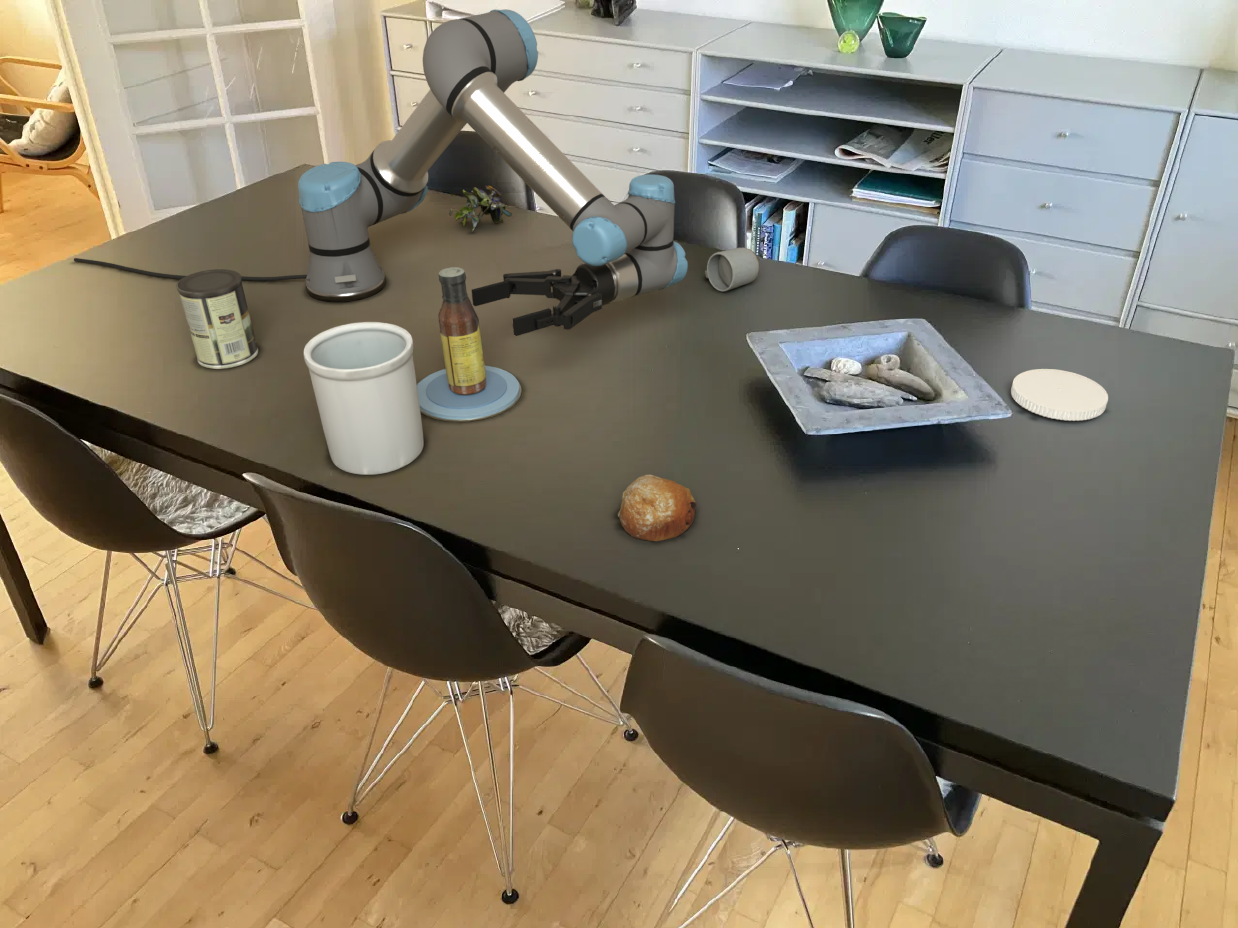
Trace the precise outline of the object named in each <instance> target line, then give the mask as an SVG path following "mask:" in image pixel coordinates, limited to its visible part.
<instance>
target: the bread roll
mask: <svg viewBox="0 0 1238 928" xmlns="http://www.w3.org/2000/svg"><path fill="white" fill-rule="evenodd" d="M696 507H697V502H696V501H695V498H694V496H693V495H692V492H691V490H690V488H687V487H685V486H684V485H682V484H679V483H677V482H676V481H674V480H672V479H668V478H667V479H666V478H663V477H660V476H657V475H654V474H651V473H649V474H644V475H641V476H639V477H638V478H636V479H635V480H634V481H632V482H631V483H630V484H629V485H628V486H627V487H626V489H625V490H624V491H623V492H622V497H621V504H620V509H619V511H618V512H617V517H618V518H619V521H620V524H621V526H622V528H623V529H624V531H625V532H626V533H627V534H628V535H630V536H631V537H633V538H635V539H638V540H643V541H648V542H659V541H664V540H670V539H672V538H676V537H678V536H680V535H682V534H683V533H685V532H686V531H687V530H688V529H689V528H690V527H691V525H692V524H693V522H694V520H695V515H696V514H695V513H696V511H695V509H696Z"/></svg>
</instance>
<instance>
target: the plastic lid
mask: <svg viewBox="0 0 1238 928" xmlns="http://www.w3.org/2000/svg"><path fill="white" fill-rule="evenodd" d="M1010 394H1011V397H1012V398H1013V400H1014V401H1015V403H1017V404H1018V405H1019V406H1021V408H1024V409H1025V410H1027V411H1029V412H1031V413H1034V414H1036V415H1039V416H1042V417H1044V418H1045V417H1046V418H1048V419H1055V420H1060V421H1069V422H1071V421H1073V422H1076V421H1077V422H1079V421H1087V420H1091V419H1094V418H1095V419H1096V418H1097V417H1099V416H1101V415H1102V414H1103V413H1104V412H1105V411H1106V408H1107V405H1108V402H1109V394H1108V392H1107V391H1106V389H1105V388H1104V387H1103V386H1102V385H1101V384H1099V383H1098V382H1096V381H1095V380H1093V379H1092V378H1089V377H1086V376H1084V375H1082V374H1078V373H1075V372H1071V371H1067V370H1062V369H1057V368H1056V369H1054V368H1051V369H1050V368H1040V369H1039V368H1036V369H1029V370H1026V371H1023V372H1021V373H1018V374H1017V375H1016V376H1015V377H1014V378H1013V380H1012V383H1011V389H1010Z"/></svg>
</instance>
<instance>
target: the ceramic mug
mask: <svg viewBox="0 0 1238 928" xmlns="http://www.w3.org/2000/svg"><path fill="white" fill-rule="evenodd" d="M759 272H760V261H759V258H758V256H757V255H756V253H755V251H753V250H752V249H751V248H748V247H736V248H731V249H727V250H726V249H725V250H722V251H717V252H714V253H713V254H712V255H710V257H709V258H708V260H707V265H706V269H705V270H704V274H705V278H706V279H708V281H709V283H710V284H711V286H712V287H713V288H714V289H715V290H717V291H719V292H723V293H724V292H728V291H731V290H734V289H737V288H739V287H741V286H745V285H748V284H750V283H752V282H753V281H754V280H756V278H757V277H758V275H759Z"/></svg>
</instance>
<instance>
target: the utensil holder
mask: <svg viewBox="0 0 1238 928" xmlns="http://www.w3.org/2000/svg"><path fill="white" fill-rule="evenodd" d="M413 352H414V341H413V336H412V335H411V333H410V332H409V331H408V330H407V329H405V328H404V327H401V326H400V325H396V324H393V323H387V322H381V321H360V322H351V323H347V324H342V325H337V326H334V327H331V328H329V329H327V330H324V331H322V332H320V333H318V334H316V335H314V337H312V338H311V339H310V340H309V341H308V342H307V343H306V344H305V346H304V349H303V359H304V362H305V365H306V367H307V368H308V371H309V372H308V373H309V377H310V380H311V384H312V388H313V392H314V397H315V401H316V405H317V408H318V414H319V418H320V422H321V426H322V429H323V433H324V437H325V441H326V444H327V449H328V452H329V457H330V459H331V461H332V463H333V464H334V466H336V467H337V468H338V469H340V470H342V471H343V472H346V473H349V474H354V475H361V476H362V475H363V476H372V475H373V476H374V475H382V474H383V475H384V474H386V473H390V472H394V471H397V470H399V469H402V468H404V467H405V466H407V465H410V464H411V463H412V462H414V461H415V460H416V459H417V458H418V457H419V456H420V455H421V453H422V451H423V449H424V444H425V443H424V431H423V423H422V413H421V412H420V406H419V399H418V391H417V385H418V383H417V376H416V370H415V361H414V355H413V354H414V353H413Z"/></svg>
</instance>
